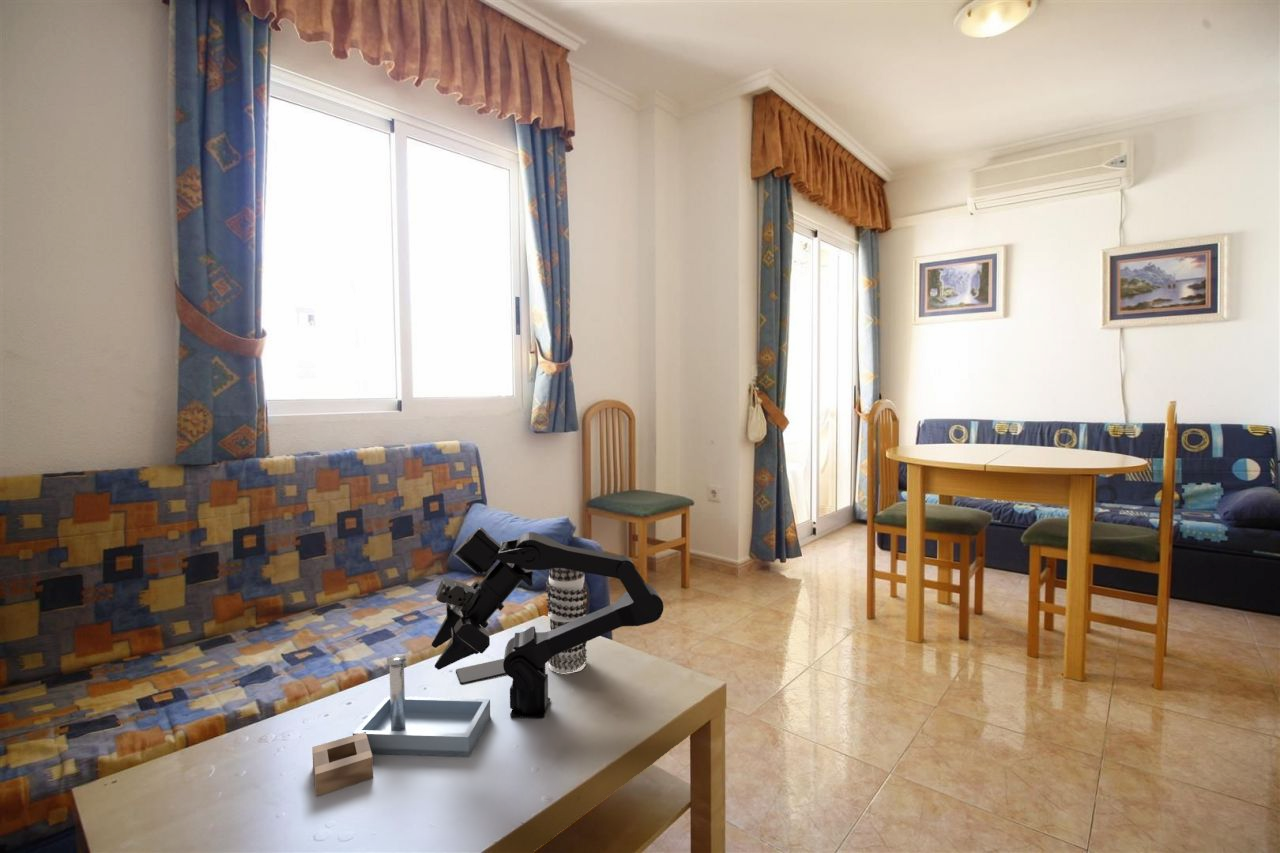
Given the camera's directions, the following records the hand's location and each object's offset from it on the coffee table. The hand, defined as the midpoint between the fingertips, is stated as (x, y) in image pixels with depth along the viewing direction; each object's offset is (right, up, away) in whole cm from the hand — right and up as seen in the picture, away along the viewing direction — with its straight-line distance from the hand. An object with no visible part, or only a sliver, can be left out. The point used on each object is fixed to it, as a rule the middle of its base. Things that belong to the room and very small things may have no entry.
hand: (434, 656), depth 107 cm
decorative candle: (+21, -12, +24) cm, 34 cm away
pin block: (-11, -14, -12) cm, 21 cm away
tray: (-1, -13, -1) cm, 13 cm away
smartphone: (+5, -12, +22) cm, 26 cm away
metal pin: (-6, -12, -1) cm, 14 cm away
